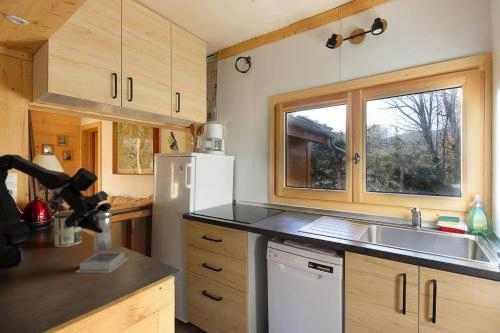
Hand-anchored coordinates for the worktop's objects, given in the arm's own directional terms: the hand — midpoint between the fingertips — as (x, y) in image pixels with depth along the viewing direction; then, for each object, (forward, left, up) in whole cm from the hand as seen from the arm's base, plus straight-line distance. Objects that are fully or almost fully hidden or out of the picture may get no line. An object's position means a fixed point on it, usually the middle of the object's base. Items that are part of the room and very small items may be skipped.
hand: (106, 230), depth 89 cm
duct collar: (-1, +1, -13) cm, 13 cm away
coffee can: (-13, +39, -13) cm, 43 cm away
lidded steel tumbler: (-1, +1, -7) cm, 7 cm away
